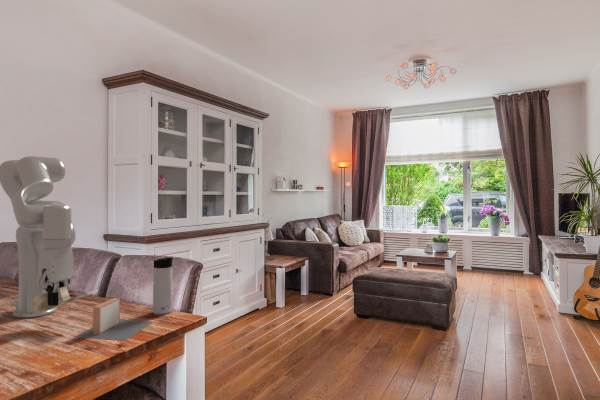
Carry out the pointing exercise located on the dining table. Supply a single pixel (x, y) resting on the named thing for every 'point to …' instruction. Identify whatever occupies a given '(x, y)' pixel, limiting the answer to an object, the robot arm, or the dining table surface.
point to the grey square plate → (117, 331)
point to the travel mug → (162, 286)
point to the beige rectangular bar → (63, 297)
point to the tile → (106, 315)
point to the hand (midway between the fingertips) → (57, 303)
